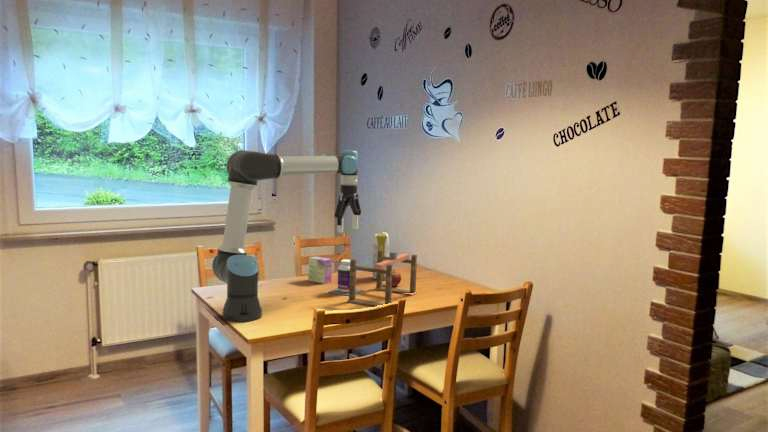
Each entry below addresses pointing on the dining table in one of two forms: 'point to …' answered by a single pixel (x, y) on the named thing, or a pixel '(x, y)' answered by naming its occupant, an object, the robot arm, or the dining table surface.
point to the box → (320, 269)
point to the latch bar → (392, 260)
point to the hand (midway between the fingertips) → (347, 230)
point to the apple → (395, 278)
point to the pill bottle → (344, 276)
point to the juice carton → (380, 244)
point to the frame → (388, 272)
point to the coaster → (344, 292)
